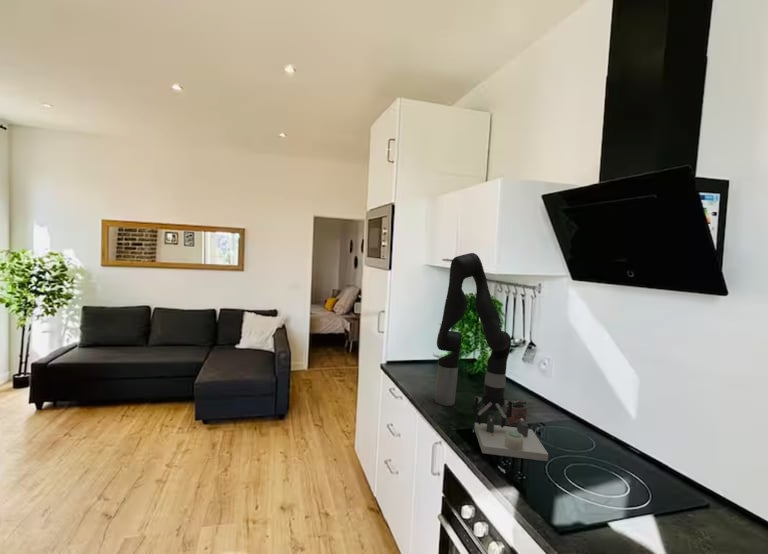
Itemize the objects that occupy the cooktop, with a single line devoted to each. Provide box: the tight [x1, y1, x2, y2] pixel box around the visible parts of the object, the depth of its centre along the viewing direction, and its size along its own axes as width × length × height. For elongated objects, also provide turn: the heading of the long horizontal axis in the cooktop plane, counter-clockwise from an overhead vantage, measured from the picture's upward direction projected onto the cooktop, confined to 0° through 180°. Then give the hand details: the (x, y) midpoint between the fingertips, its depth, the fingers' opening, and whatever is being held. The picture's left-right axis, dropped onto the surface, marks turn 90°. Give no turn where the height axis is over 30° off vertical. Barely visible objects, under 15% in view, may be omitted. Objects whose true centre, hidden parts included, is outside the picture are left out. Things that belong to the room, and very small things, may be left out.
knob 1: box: [486, 414, 495, 432], centre depth 152 cm, size 2×6×4 cm, turn 165°
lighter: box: [507, 399, 529, 427], centre depth 166 cm, size 8×3×10 cm, turn 105°
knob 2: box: [516, 418, 530, 437], centre depth 151 cm, size 2×6×4 cm, turn 175°
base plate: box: [473, 422, 549, 462], centre depth 147 cm, size 20×22×7 cm
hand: (490, 425), depth 152 cm, fingers open, 8 cm apart
